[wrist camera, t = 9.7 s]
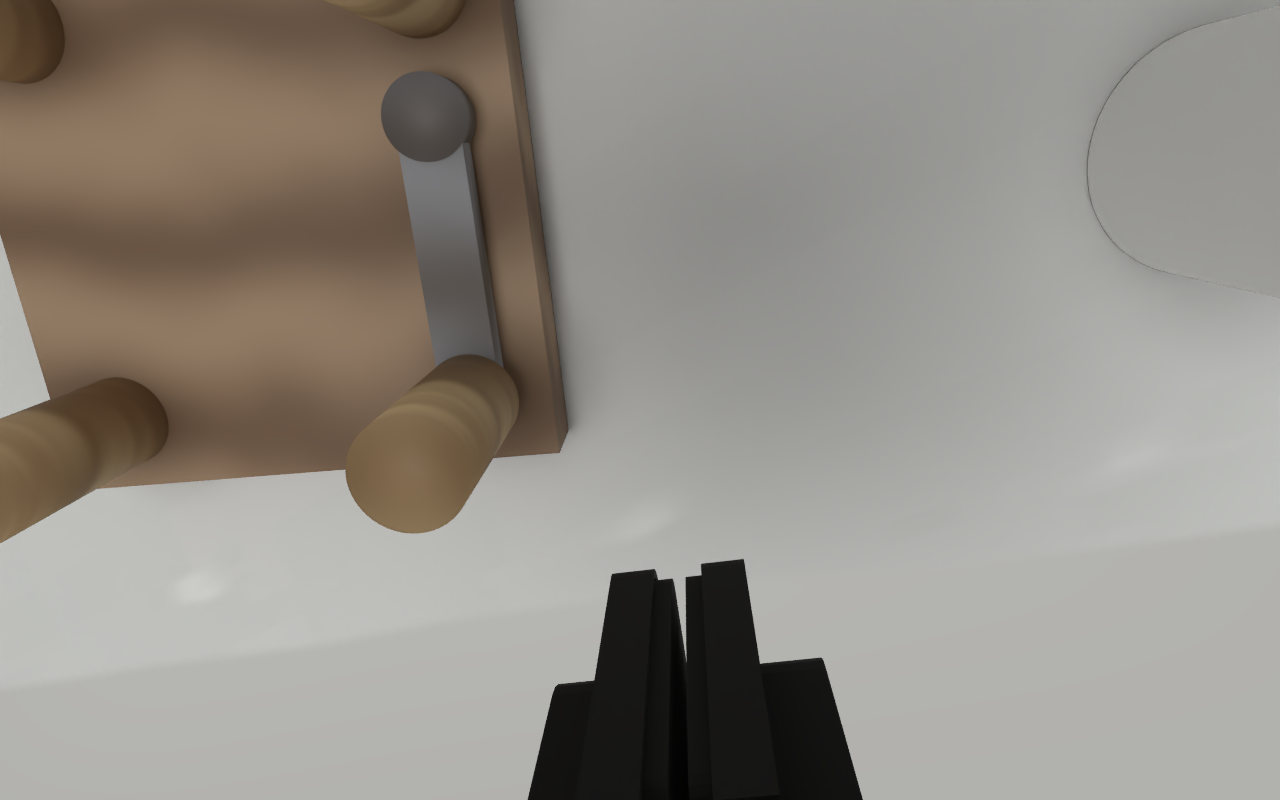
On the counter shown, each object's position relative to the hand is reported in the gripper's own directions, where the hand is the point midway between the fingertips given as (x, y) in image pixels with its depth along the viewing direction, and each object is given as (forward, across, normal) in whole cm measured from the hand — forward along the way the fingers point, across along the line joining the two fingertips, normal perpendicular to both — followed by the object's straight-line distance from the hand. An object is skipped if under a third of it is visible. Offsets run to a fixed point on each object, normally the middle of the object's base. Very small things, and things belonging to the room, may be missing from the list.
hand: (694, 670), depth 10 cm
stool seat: (+21, +14, -6) cm, 26 cm away
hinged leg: (+18, +7, -4) cm, 20 cm away
